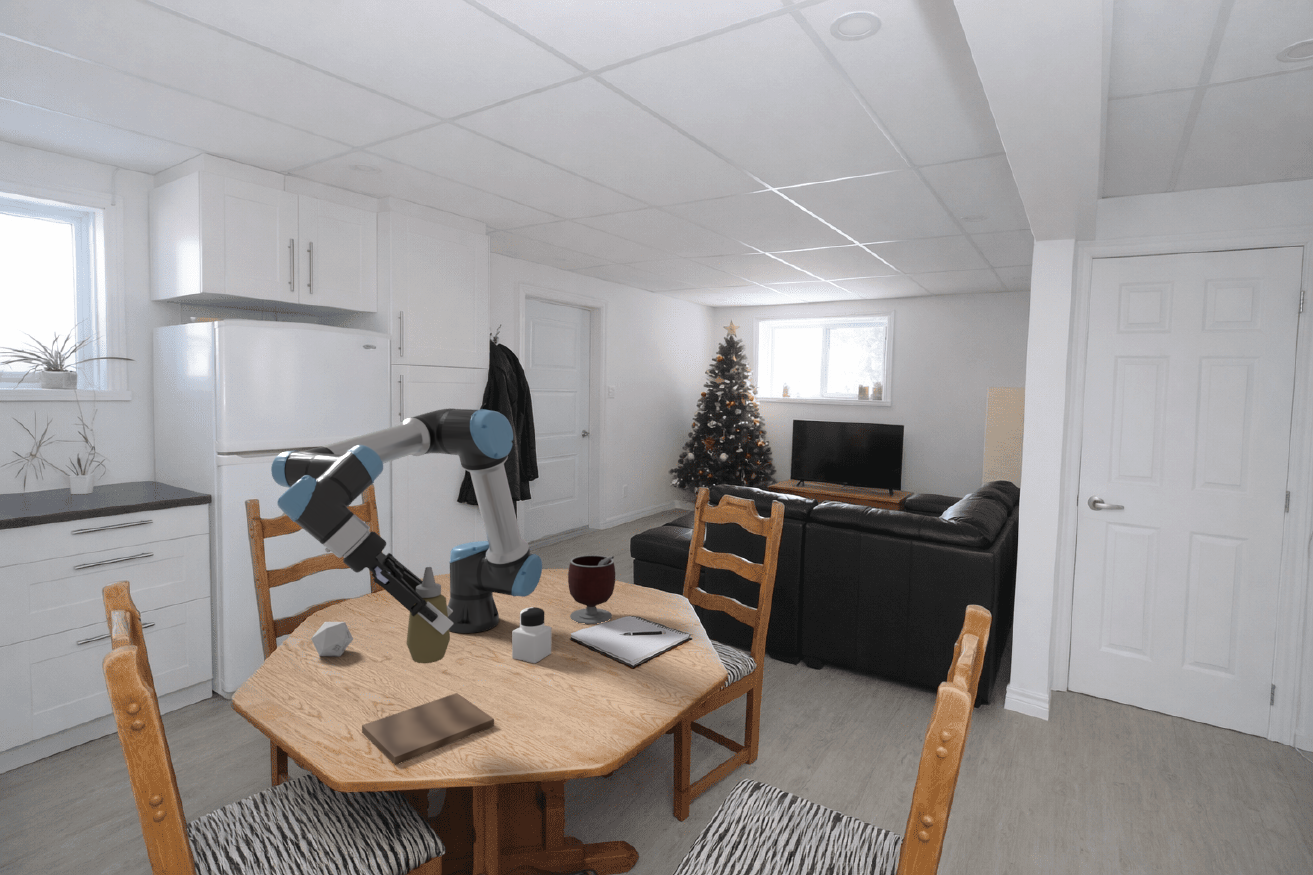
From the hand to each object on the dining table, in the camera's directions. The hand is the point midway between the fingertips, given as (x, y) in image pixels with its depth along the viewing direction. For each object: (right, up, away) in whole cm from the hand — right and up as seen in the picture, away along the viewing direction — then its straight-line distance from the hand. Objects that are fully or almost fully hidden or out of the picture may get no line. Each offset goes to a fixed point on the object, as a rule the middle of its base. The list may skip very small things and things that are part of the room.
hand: (447, 622), depth 128 cm
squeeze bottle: (-4, -7, -1) cm, 8 cm away
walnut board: (-4, -21, 0) cm, 22 cm away
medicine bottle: (+10, -19, +37) cm, 42 cm away
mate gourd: (+22, -17, +65) cm, 71 cm away
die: (-40, -18, +35) cm, 56 cm away
